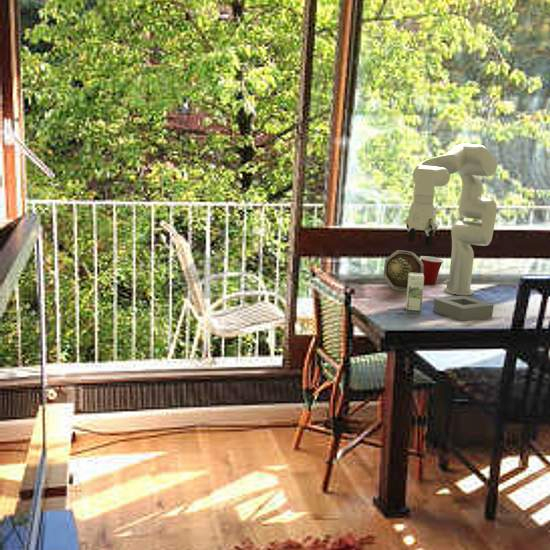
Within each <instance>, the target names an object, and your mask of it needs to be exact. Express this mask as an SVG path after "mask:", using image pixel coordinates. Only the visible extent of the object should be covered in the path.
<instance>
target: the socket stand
mask: <svg viewBox="0 0 550 550" xmlns="http://www.w3.org/2000/svg"><path fill="white" fill-rule="evenodd" d="M433 300H434V301H433V309H432V311H433V312H434V311H435V313H438V314H440V315H443V316H446V317H449V318H452V319H454V320H457V321H460V322H468V321H474V320H483V319H488V318H490V319H491V318H493V316H494V315H493V314H494V304H491V303H489V302H486V301H483V300H480V299H477V298H472V297H470V296H468V295H455V296H450V297H449V296H448V297H438V298H434V299H433Z"/></svg>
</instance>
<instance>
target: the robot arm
mask: <svg viewBox="0 0 550 550" xmlns="http://www.w3.org/2000/svg"><path fill="white" fill-rule="evenodd" d="M497 168H498V163H497V160H496V158H495V156H494V155H493V154H492V153H491V151H490V150H489V148H487V147H485V146H484V145H481V144H472V143H460V144H457V145H455V146H454V147H453V148H452V149H451V150H449V151H448V152H447V153H445V154H442V155H439V156H435V157H430V158H428V159H425V160H423V161H421V162H420V163H418V164H417V165H416V167H415V168H414V170H413V172H412V180H413V181H414V190H413V191H414V192H413V201H412V202H411V205H410V209H409V214H408V218H406V219H405V224H406V225H405V226H406V230H407V233H408V234H407V242H408V243H412V242H415V241H416V230H420V231H424V232H425V236H424V245H423V246H424V247H431V246H432V244H433V236H434V235H435V233H436V232H437V229H438V224H437V223H436V222H435V221H434V220H435V207H434V195H435V187H439V188H440V187H445V186H446V185H447V184H449V182H450V179H451V175H452V174H456V173H457V172H458V174H459V177H460V179H461V183H462V186H461V192H460V193H461V194H460V200H459V205H458V214H459V216H460V217H462V218H464V219H465V218H466V219H471V220H472V219H473V220H478V221H481V223H480V222H474V221H467V220H466V221H465V220H458V221H456V222H454V223H453V225H452V226H451V231H450V233H451V255H450V266H449V275H448V276H449V277H448V278H447V279H446V280H444V281H443V285H446V287H444V292H445V293H447V294H450V295H454V294H456V295H455V296H472V295H474V293H475V292H474V290H473V289H472V288H471V285H472V278H473V277H472V276H473V269H474V268H473V266H474V257H475V253H474V249H473V247H472V246H473V245H474V246H482V247H486V246H489V245H490V244H491V242H492V239H493V237H494V236H493V235H494V230H495V224H496V217H497V214H498V213H497V210H498V209H497V208H498V207H497V203H496V201H495V200H494V199H493V198H488V197H483V196H482V195H483V187H484V186H483V183H482V181H481V178H480V177H489V178H490V177H492V176H493V175H494V174H495V173H496V172H497ZM471 245H472V246H471Z"/></svg>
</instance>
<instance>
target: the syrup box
mask: <svg viewBox="0 0 550 550" xmlns="http://www.w3.org/2000/svg"><path fill="white" fill-rule="evenodd" d="M423 291H424V275H423V273H409V274H408V285H407V291H406V298H405V310H406V311H409V312H411V311H412V312H422V311H421V310H422V303H423V293H424V292H423Z"/></svg>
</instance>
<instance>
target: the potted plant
mask: <svg viewBox="0 0 550 550" xmlns="http://www.w3.org/2000/svg"><path fill="white" fill-rule="evenodd" d="M409 273H424V265H423V263H422V261H421V258H420V257H418V256H417V255H416V253H414V252H413V251H408V250H400V249H398V250H395V251H394V252H393V253H391V255H389V256H388V257H386V258H385V260H384V265H383V274H382V275H383V278H384V280H385V281H386V283H388V286H390V287H391V288H392V289H393V290H395V291H402V290H403V292H407V285H408V274H409Z"/></svg>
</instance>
